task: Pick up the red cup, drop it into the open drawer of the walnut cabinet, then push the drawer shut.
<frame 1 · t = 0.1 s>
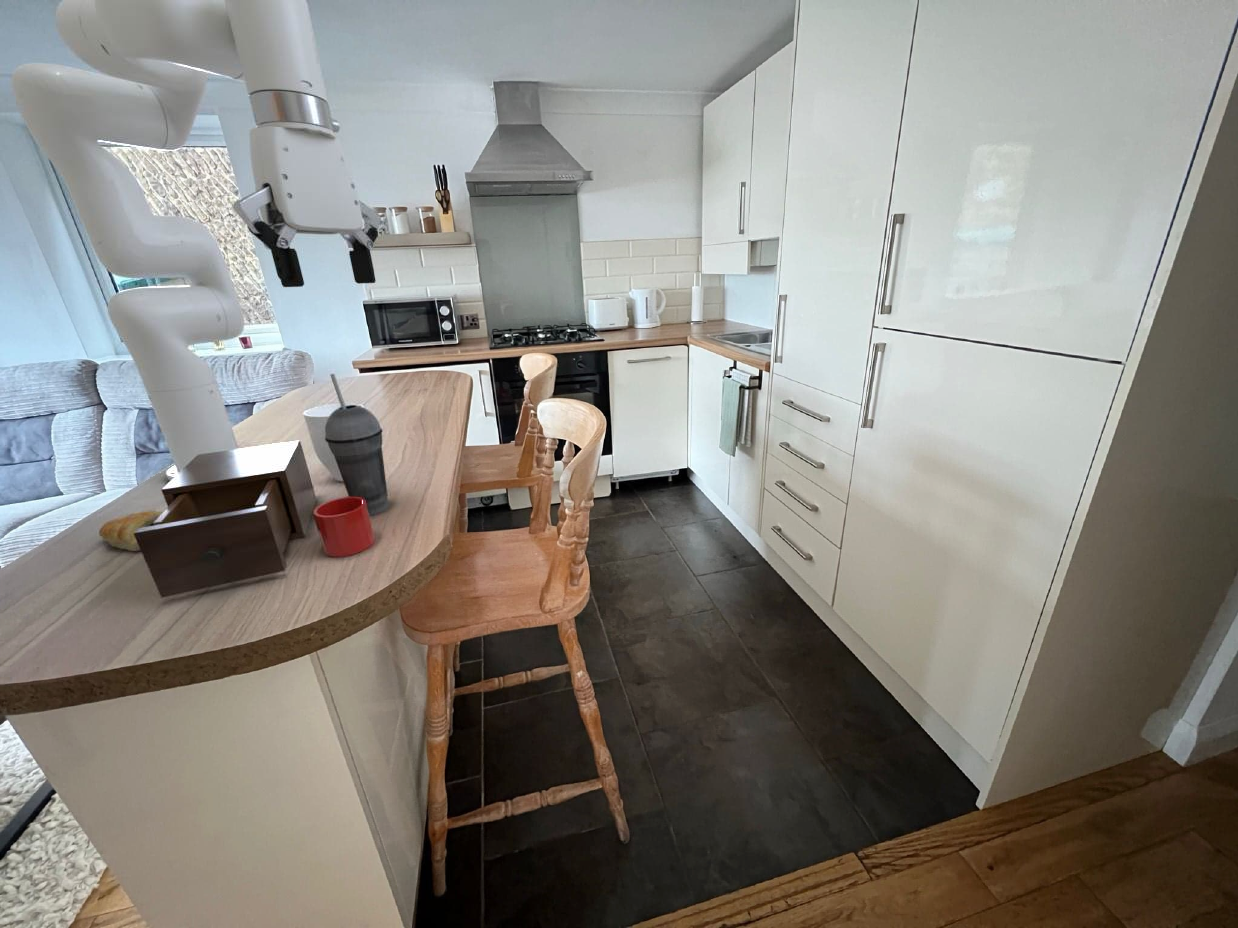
hand: (332, 284, 62), 31 cm above the table, tool pointing down, fingers open, 9 cm apart
cabinet: (260, 525, 71), on the table
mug: (353, 474, 89), on the table
pastry: (143, 540, 68), on the table
drawer: (227, 530, 59), point 5 cm above the table, slide at 9.0 cm
red cup: (350, 544, 65), on the table
beverage cup: (372, 509, 75), on the table
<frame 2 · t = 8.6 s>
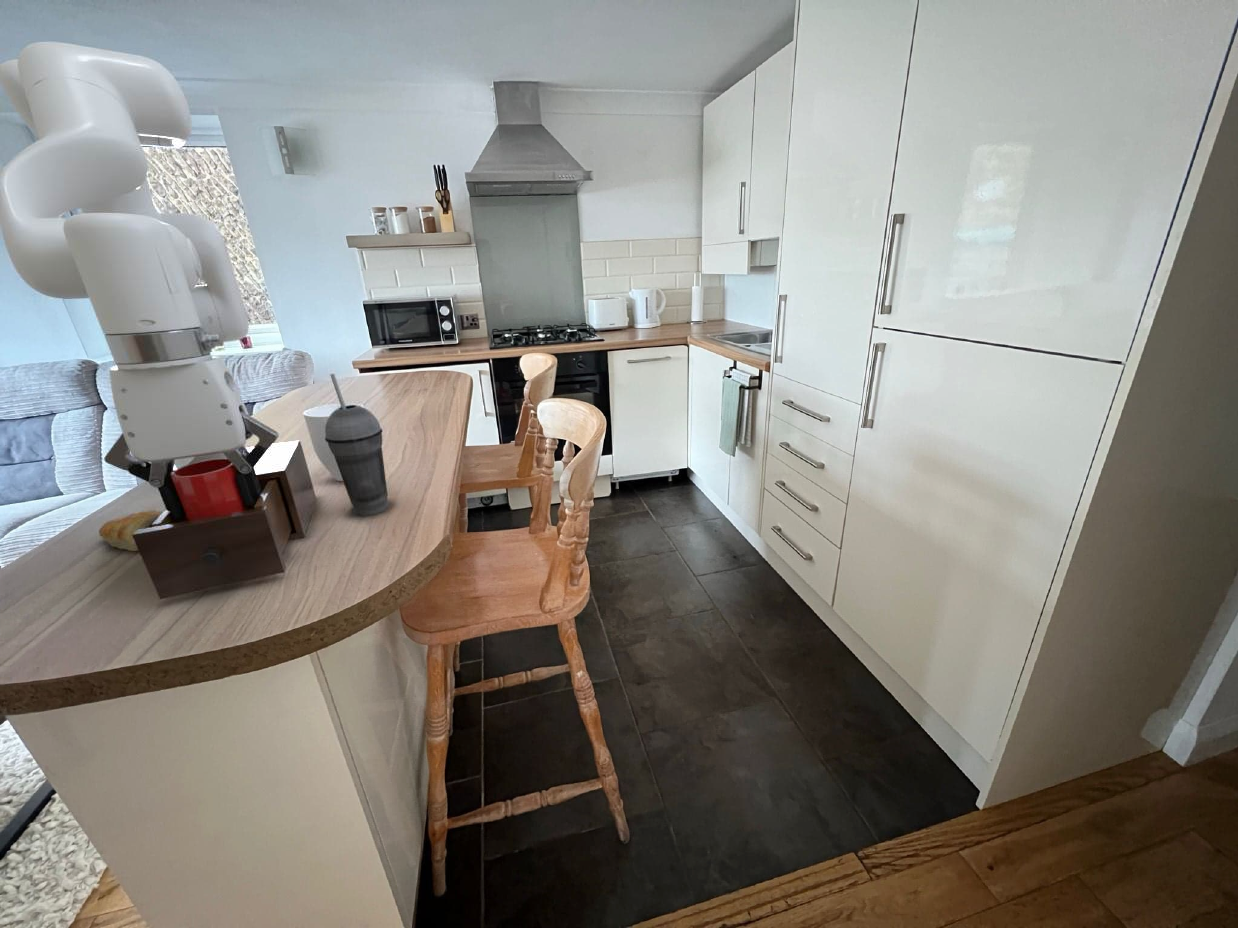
hand: (218, 507, 58), 8 cm above the table, tool pointing down, fingers closed on red cup, 5 cm apart
drawer: (226, 531, 59), point 5 cm above the table, slide at 9.4 cm
red cup: (220, 511, 58), point 7 cm above the table, touching gripper
everything else where it was.
when the fingers open (11 cm above the table, at t = 25.8 s): red cup drops 8 cm, resting on drawer.
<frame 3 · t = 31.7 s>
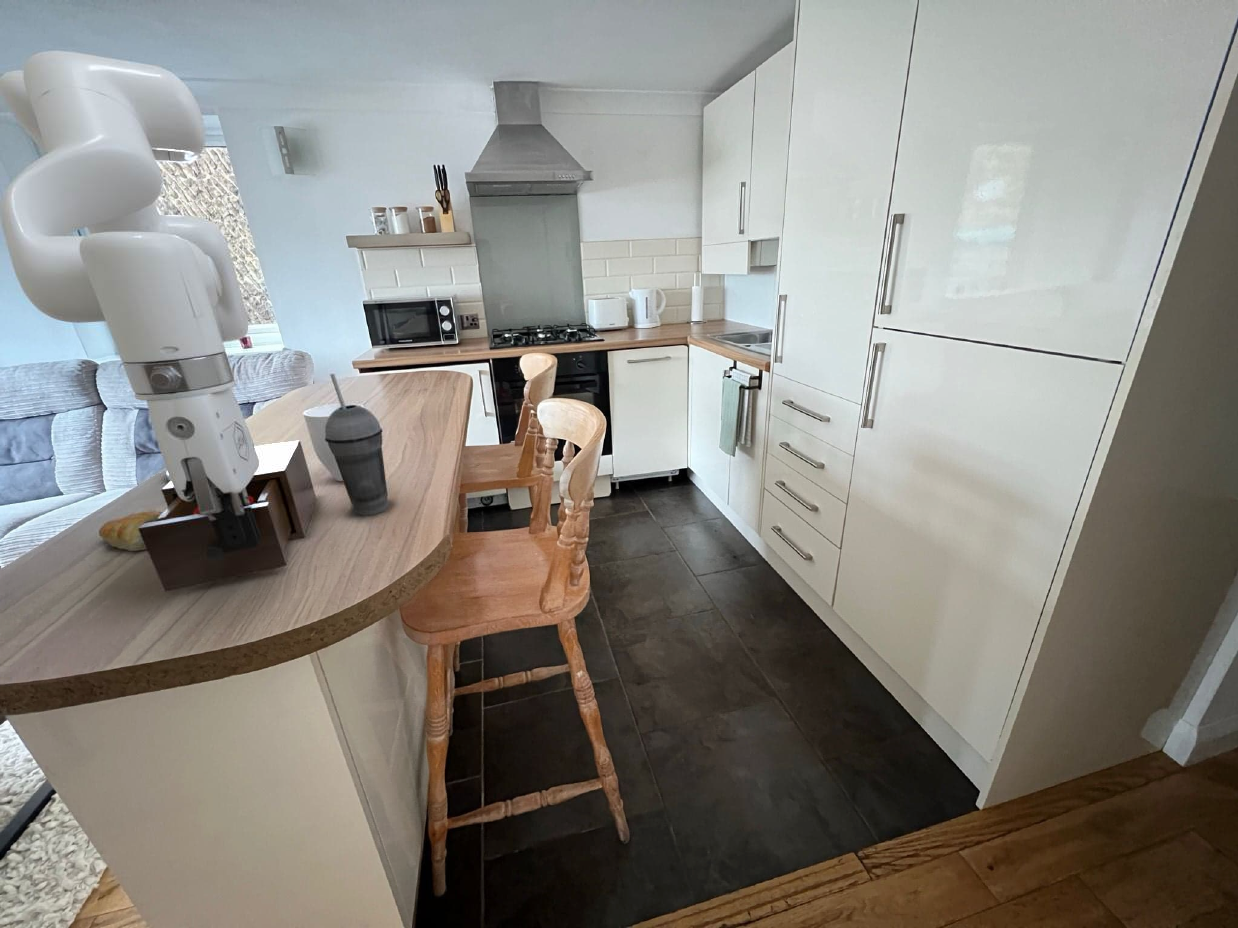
hand: (242, 545, 54), 6 cm above the table, tool pointing down, fingers closed
drawer: (230, 526, 60), point 5 cm above the table, slide at 7.9 cm, touching red cup
red cup: (238, 546, 61), point 2 cm above the table, touching drawer
everything else where it was.
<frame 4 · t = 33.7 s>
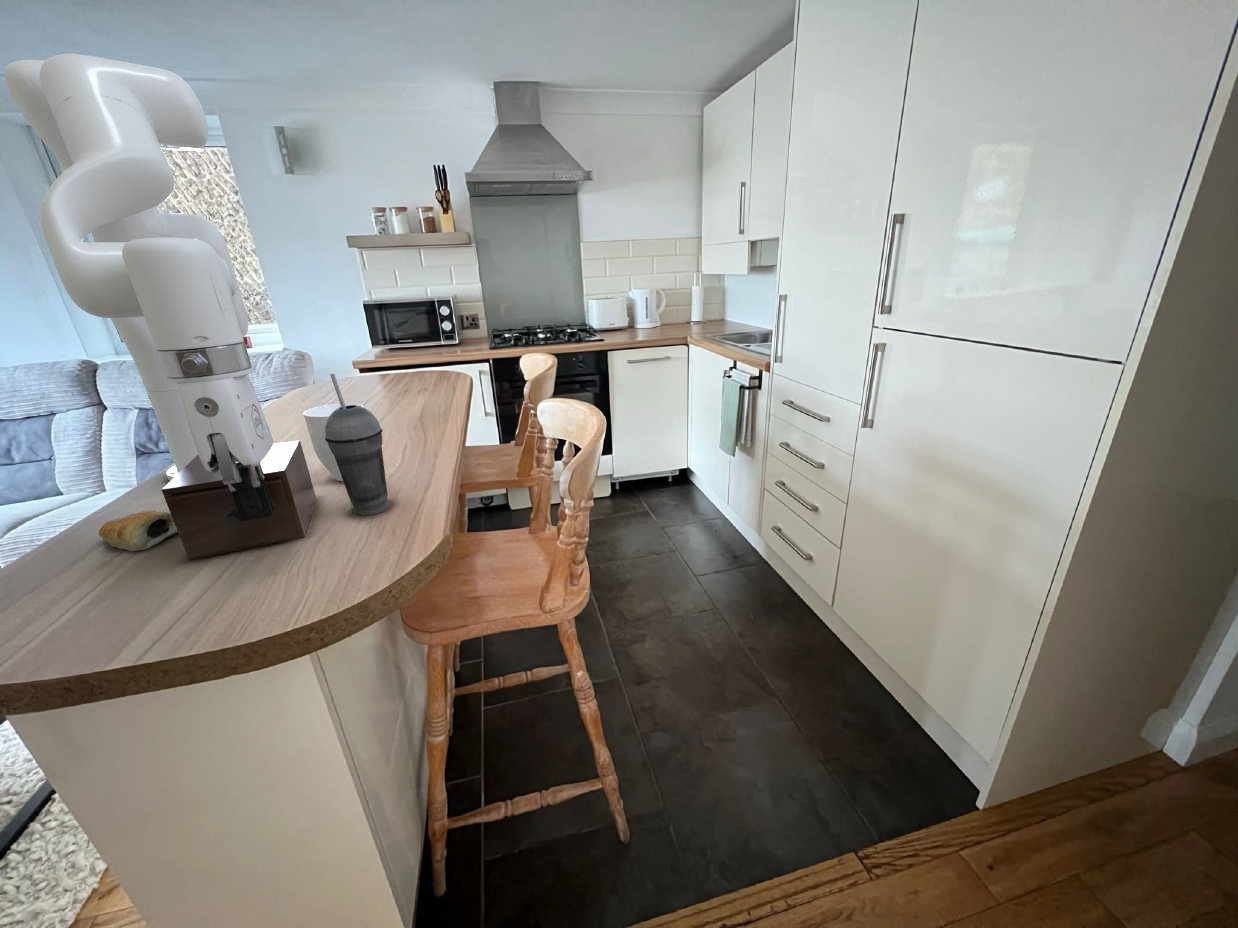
hand: (258, 515, 61), 6 cm above the table, tool pointing down, fingers closed
drawer: (245, 501, 67), point 5 cm above the table, slide at 0.0 cm, touching cabinet, gripper, red cup
red cup: (252, 519, 68), point 2 cm above the table, touching drawer
everything else where it was.
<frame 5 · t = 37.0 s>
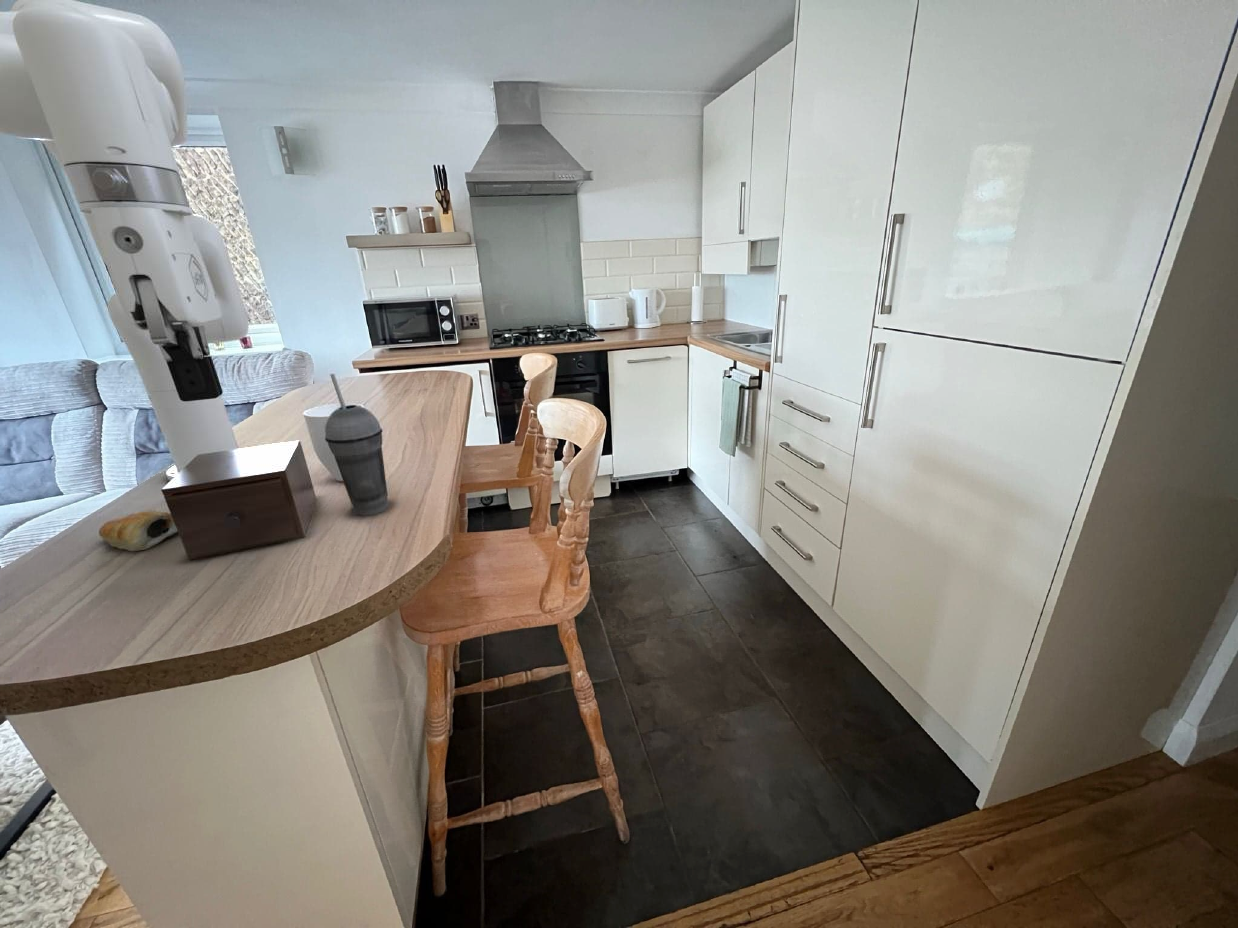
hand: (202, 397, 51), 21 cm above the table, tool pointing down, fingers closed
drawer: (245, 501, 67), point 5 cm above the table, slide at 0.0 cm, touching cabinet, red cup
everything else where it was.
at the end: red cup inside the target area in the cabinet (2.2 cm from its centre), point 2.0 cm above the cabinet's base; drawer slide at 0.0 cm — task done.
